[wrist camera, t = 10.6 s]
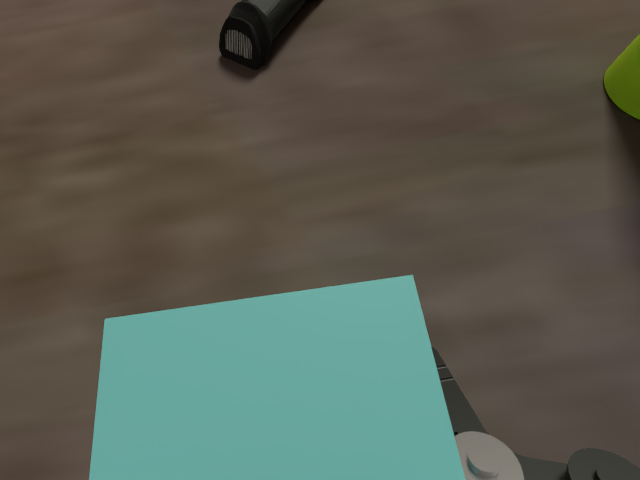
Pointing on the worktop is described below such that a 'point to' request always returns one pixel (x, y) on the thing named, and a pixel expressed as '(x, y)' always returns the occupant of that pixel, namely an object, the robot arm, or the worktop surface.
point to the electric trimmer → (255, 29)
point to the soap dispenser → (625, 79)
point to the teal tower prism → (275, 390)
